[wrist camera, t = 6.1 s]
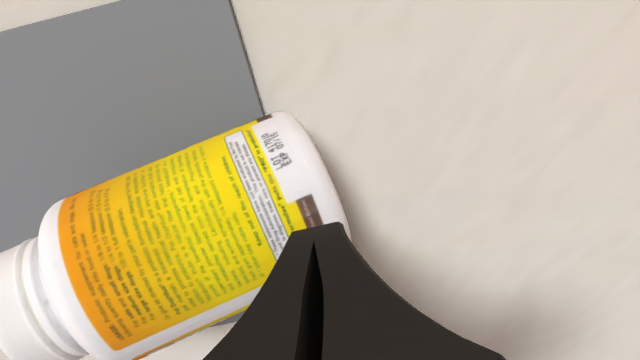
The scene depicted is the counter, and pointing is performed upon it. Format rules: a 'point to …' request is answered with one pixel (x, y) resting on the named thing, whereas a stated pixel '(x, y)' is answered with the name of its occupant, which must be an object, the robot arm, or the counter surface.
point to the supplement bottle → (164, 246)
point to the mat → (112, 98)
